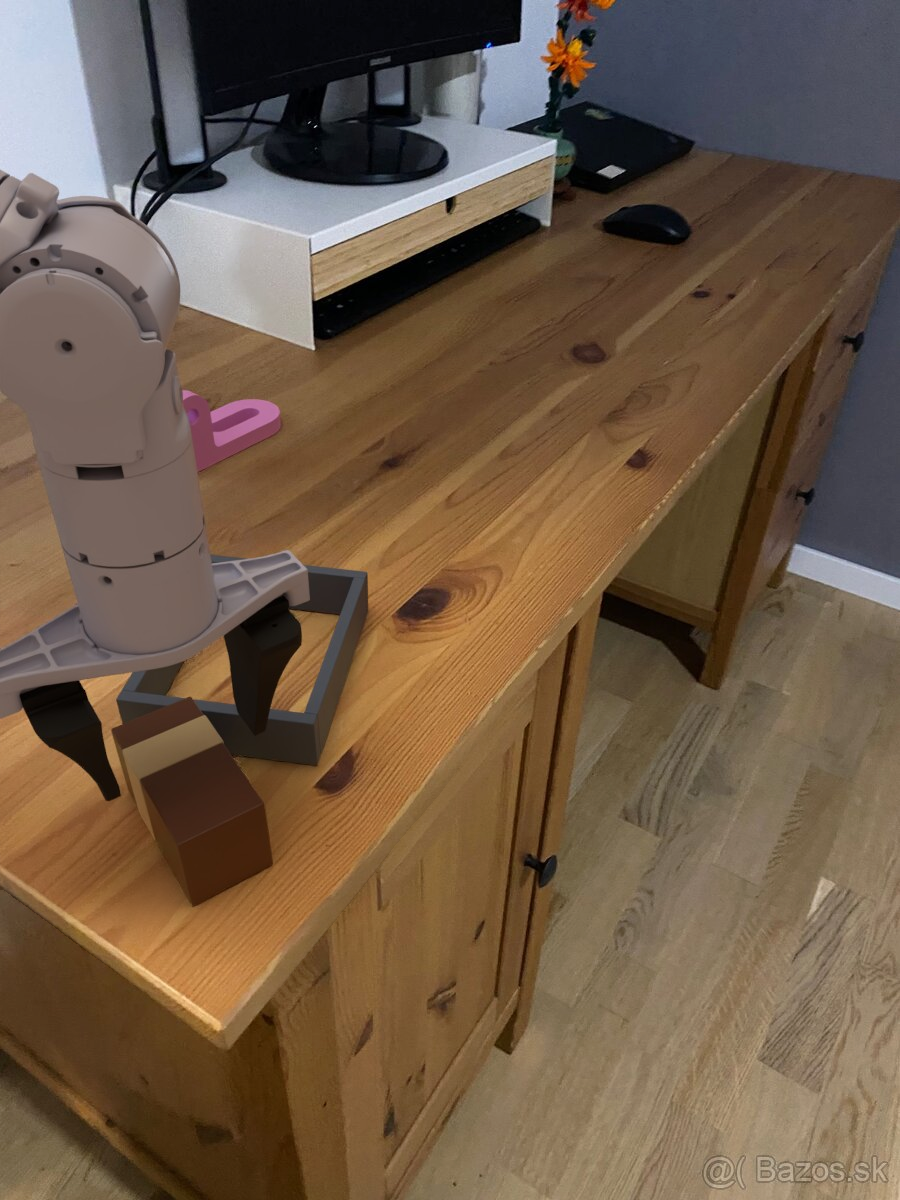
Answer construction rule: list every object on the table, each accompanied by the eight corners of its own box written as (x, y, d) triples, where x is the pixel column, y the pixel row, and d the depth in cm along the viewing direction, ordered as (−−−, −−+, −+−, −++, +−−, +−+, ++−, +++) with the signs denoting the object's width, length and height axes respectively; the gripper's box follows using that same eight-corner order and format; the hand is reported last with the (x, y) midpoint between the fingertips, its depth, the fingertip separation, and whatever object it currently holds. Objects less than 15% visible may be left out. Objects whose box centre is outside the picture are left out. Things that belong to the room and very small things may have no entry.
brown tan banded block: (191, 908, 46) (176, 845, 42) (126, 791, 51) (109, 728, 48) (274, 864, 48) (265, 801, 45) (203, 756, 53) (191, 694, 50)
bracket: (183, 479, 78) (171, 404, 73) (142, 457, 80) (127, 384, 76) (293, 424, 86) (287, 354, 81) (252, 407, 88) (244, 338, 84)
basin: (126, 741, 54) (115, 699, 52) (210, 592, 65) (203, 553, 63) (317, 766, 53) (314, 724, 51) (368, 611, 64) (367, 571, 62)
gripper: (251, 442, 43) (275, 655, 52) (-80, 535, 36) (10, 763, 45) (325, 510, 39) (338, 730, 47) (-36, 630, 32) (54, 863, 40)
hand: (182, 752), depth 46 cm, fingers open, 7 cm apart
